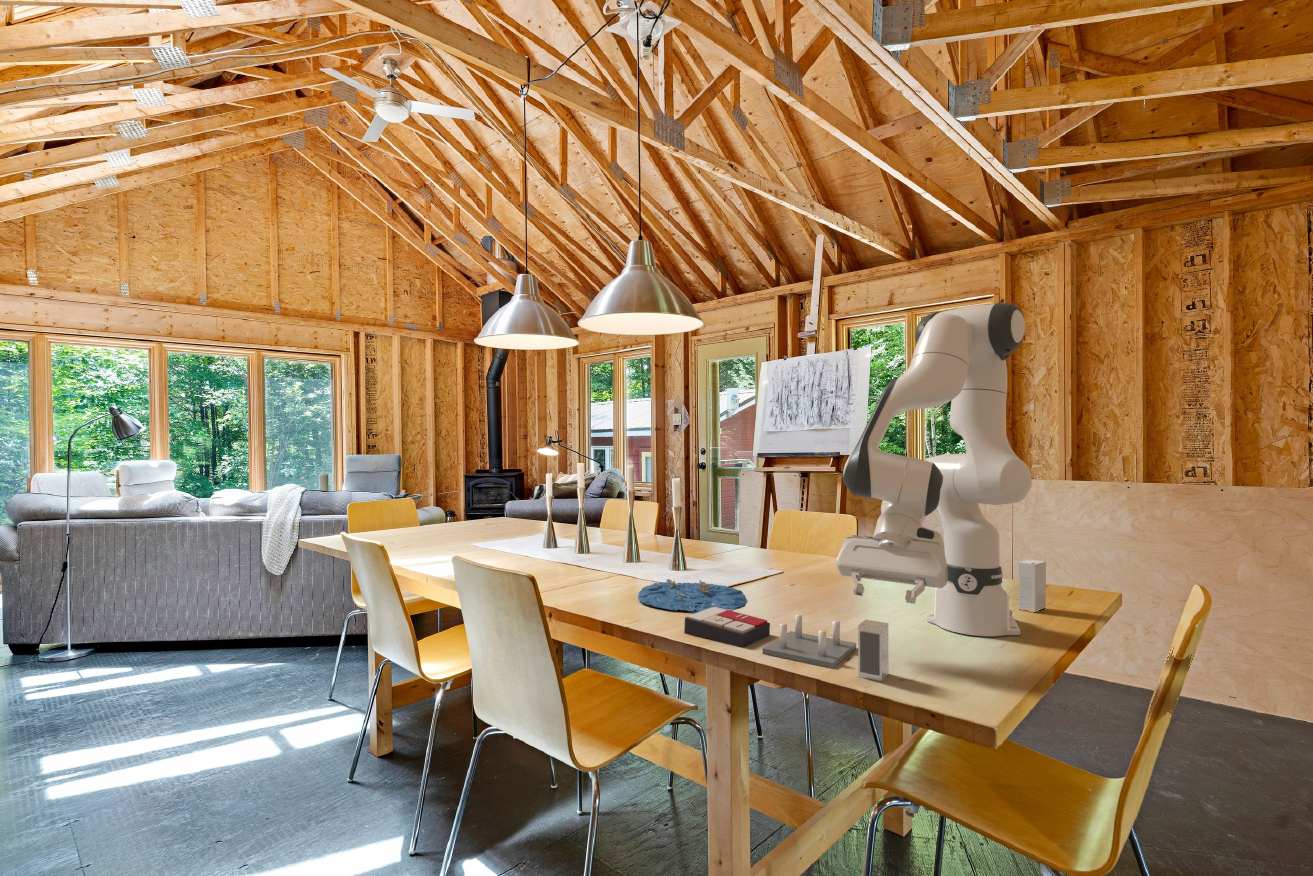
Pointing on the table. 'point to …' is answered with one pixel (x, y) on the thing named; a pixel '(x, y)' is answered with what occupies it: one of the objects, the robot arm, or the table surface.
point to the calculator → (727, 627)
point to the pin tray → (810, 646)
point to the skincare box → (1032, 585)
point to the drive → (873, 650)
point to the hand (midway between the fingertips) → (883, 597)
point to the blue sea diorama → (691, 596)
